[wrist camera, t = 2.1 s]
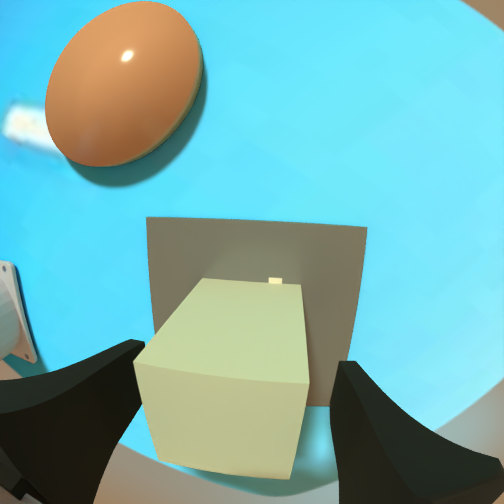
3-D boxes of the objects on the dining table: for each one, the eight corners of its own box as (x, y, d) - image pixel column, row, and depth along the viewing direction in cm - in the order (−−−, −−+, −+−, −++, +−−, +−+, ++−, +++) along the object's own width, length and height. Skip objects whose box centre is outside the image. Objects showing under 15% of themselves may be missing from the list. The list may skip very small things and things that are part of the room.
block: (205, 359, 15) (158, 460, 8) (202, 278, 14) (132, 361, 7) (292, 366, 14) (289, 479, 8) (300, 284, 13) (309, 383, 7)
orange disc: (52, 172, 14) (40, 173, 13) (68, 33, 12) (59, 28, 11) (198, 162, 13) (191, 161, 12) (209, -4, 11) (204, -14, 10)
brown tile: (164, 387, 16) (163, 389, 16) (147, 216, 14) (146, 217, 13) (335, 403, 15) (335, 406, 15) (366, 226, 13) (367, 227, 12)
